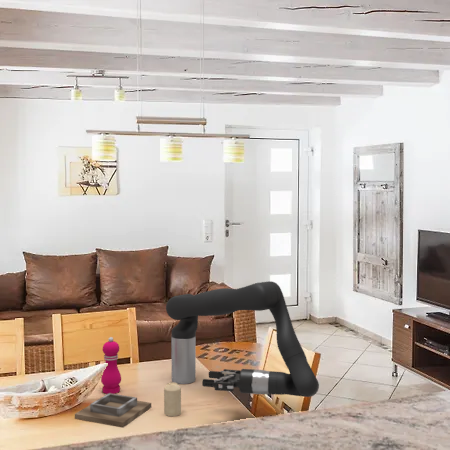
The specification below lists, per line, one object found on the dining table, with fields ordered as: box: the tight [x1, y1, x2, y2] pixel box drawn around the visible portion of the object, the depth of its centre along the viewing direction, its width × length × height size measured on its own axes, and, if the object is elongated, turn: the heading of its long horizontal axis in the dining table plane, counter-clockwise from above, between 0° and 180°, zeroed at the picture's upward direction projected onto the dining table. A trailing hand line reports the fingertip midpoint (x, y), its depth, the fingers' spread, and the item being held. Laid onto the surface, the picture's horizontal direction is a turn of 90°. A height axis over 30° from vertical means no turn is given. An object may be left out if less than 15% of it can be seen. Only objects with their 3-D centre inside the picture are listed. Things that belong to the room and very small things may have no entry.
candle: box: [163, 382, 182, 417], centre depth 193 cm, size 6×6×10 cm
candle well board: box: [74, 393, 152, 428], centre depth 193 cm, size 18×18×4 cm
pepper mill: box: [100, 336, 122, 395], centre depth 213 cm, size 7×7×20 cm
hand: (205, 378), depth 190 cm, fingers open, 8 cm apart
